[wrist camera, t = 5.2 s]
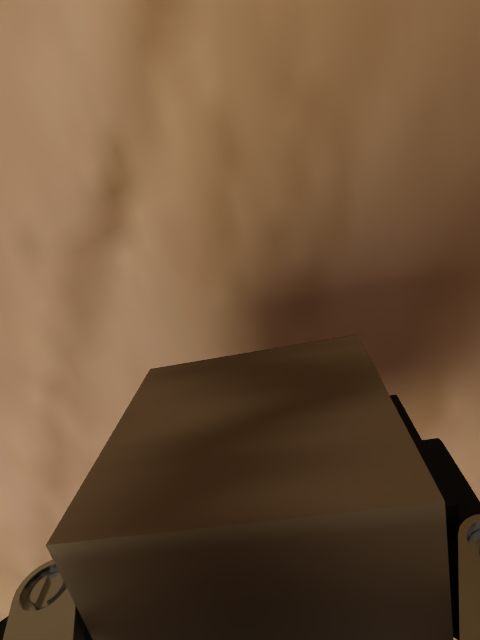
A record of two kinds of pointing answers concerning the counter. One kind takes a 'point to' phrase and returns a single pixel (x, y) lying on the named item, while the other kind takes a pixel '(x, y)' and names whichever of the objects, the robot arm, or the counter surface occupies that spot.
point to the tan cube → (260, 508)
